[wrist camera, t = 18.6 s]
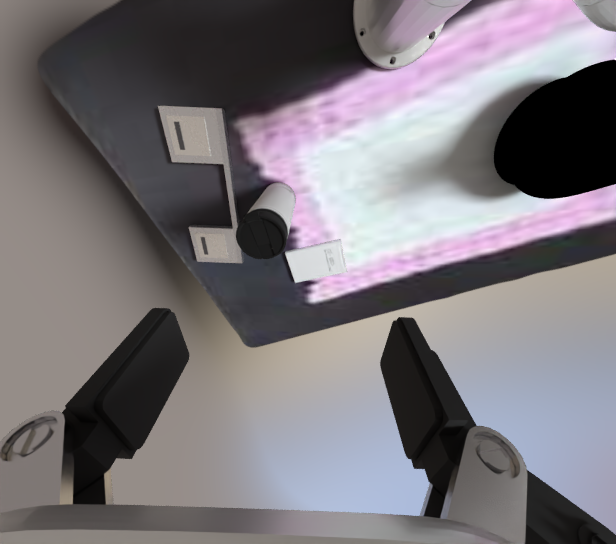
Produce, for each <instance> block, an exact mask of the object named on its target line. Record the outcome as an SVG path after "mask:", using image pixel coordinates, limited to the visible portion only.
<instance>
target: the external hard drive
mask: <svg viewBox="0 0 616 544" xmlns="http://www.w3.org/2000/svg"><path fill="white" fill-rule="evenodd" d="M285 255H286V258H287V261H288V263H289V266H290V269H291V272H292V275H293V278H294V281H295V283H297V282H302V281H307V280H311V279H316V278H321V277H326V276H331V275H335V274H340V273H345V272H347V268H346V263H345V258H344V252H343V247H342V242H341V239H338V240H334V241H329V242H325V243H320V244H316V245H311V246H307V247H303V248H298V249H294V250H289V251H285Z"/></svg>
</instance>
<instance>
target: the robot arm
mask: <svg viewBox="0 0 616 544" xmlns="http://www.w3.org/2000/svg"><path fill="white" fill-rule="evenodd" d="M470 1H471V0H354V6H353V25H354V30H355V36H356V39H357V41H358V44H359V47H360V48H361V50H362V52H363V54H364V55H365V56H366V57H367V58H368V60H369V61H371V62H372V63H373V64H375V65H376V66H379V67H381V68H384V69H398V68H402V67H404V66H407V65H409V64H411V63H412V62H414V61H416V60H417V59H418V58H420V57H421V56H422V55H423V54H424V53H425V52H426V51H427V50H428V49H429V48H430V47H431V46H432V44H433V43H434V42H435V40H436V39H437V37H438V35H439V33H440V31H441V30H442V28H443V26H444V23H445V21H446V20H448V19H449V18H450V17H451V16H453V15H454V14H455V13H456V12H458V11H459V10H460V9H461V8H462V7H464V6H465V5H466V4H467V3H469V2H470ZM572 1H573V2H574V3H575V4H576V5H577V6H578V8H579V9H580V10H581V11H582V13H583V14H584V15H585V16H586V17H587V18H588V19H589V20H590V21H591V22H592V23H594V24H595V25H596V26H598V27H600V28H602V29H605V30H608V31H614V32H616V0H572ZM361 32H363V36H360V33H361ZM429 35H430V36H431V39H429ZM390 60H392V61H393V63H392V64H390ZM188 360H189V352H188V349H187V346H186V343H185V341H184V338H183V335H182V332H181V330H180V327H179V324H178V321H177V319H176V316H175V314H174V313H173V312H171V310H170V309H167V308H153V309H152V310H150V312H149V313H148V314H147V315H146V316H145V317H144V318H143V319H142V320H141V321H140V323H139V324H138V325H137V326H136V327H135V328H134V329H133V331H132V332H131V333H130V334H129V335H128V336H127V337H126V338H125V340H124V341H123V342H122V343H121V344H120V345H119V346H118V347H117V348H116V349H115V351H114V352H113V353H112V354H111V355H110V356H109V358H108V359H107V360H106V361H105V362H104V363H103V364H102V365H101V366H100V367H99V369H98V370H97V371H96V372H95V373H94V374H93V375H92V376H91V377H90V379H89V380H88V381H87V382H86V383H85V384H84V385H83V386H82V388H81V389H80V390H79V391H78V392H77V393H76V394H75V396H74V397H73V398H72V399H71V400H70V401H69V402H68V403H67V404H66V405H65V406H66V409H65V410H64V411H63V412H62V413H61V412H59V411H48V412H44V413H41V414H38V415H35V416H33V417H31V418H29V419H27V420H26V421H24V422H22V423H21V424H19V425H18V426H17V427H15V428H14V429H12V430H11V431H10V432H9V433H8V434H7V435H6V436H5V437H4V438H3V439H2V440H1V441H0V544H616V535H615V534H614V533H613V532H611V531H610V530H609V529H608V528H606V527H605V526H604V525H602V524H601V523H600V522H598V521H597V520H595V519H594V518H593V517H591V516H590V515H589V514H587V513H586V512H584V511H583V510H582V509H580V508H579V507H577V506H576V505H575V504H573V503H572V502H571V501H569V500H568V499H567V498H565V497H564V496H562V495H561V494H560V493H558V492H557V491H555V490H554V489H553V488H551V487H550V486H549V485H547V484H546V483H545V482H543V481H542V480H540V479H539V478H538V477H536V476H535V475H533V474H532V473H531V472H529V471H528V470H527V469H526V465H525V463H524V461H523V458H522V456H521V455H520V453H519V452H518V450H517V449H516V448H515V446H514V445H513V444H512V443H511V442H510V441H509V440H508V439H506V438H505V437H504V436H502V435H501V434H500V433H498V432H497V431H495V430H493V429H491V428H488V427H484V426H476V424H475V422H474V420H473V419H472V417H471V415H470V413H469V411H468V409H467V408H466V406H465V404H464V402H463V401H462V399H461V397H460V395H459V393H458V391H457V390H456V388H455V386H454V384H453V382H452V381H451V379H450V377H449V375H448V373H447V371H446V370H445V368H444V366H443V364H442V362H441V361H440V359H439V357H438V355H437V354H436V353H435V352H434V351H433V350H431V349H430V347H429V346H428V344H427V342H426V340H425V338H424V336H423V334H422V333H421V331H420V329H419V327H418V325H417V323H416V321H415V320H414V319H413V318H404V317H401V318H400V317H399V318H398V319H397V321H393V323H392V326H391V329H390V333H389V336H388V339H387V342H386V345H385V348H384V352H383V355H382V358H381V362H380V366H381V370H382V374H383V377H384V381H385V384H386V388H387V391H388V395H389V398H390V402H391V405H392V409H393V413H394V416H395V420H396V423H397V426H398V430H399V434H400V437H401V441H402V444H403V448H404V451H405V454H406V456H407V458H408V459H411V460H412V463H413V467H414V469H425V471H426V474H427V477H428V480H429V482H430V485H429V488H428V491H427V494H426V497H425V501H424V504H423V507H422V510H421V513H420V516H409V515H392V514H375V513H351V512H326V511H325V512H324V511H300V510H272V509H243V508H211V507H180V506H179V507H178V506H145V505H113V495H112V494H113V493H112V480H111V466H112V464H113V463H114V461H115V459H116V458H125V459H132V458H133V456H134V454H135V452H136V450H137V449H140V448H141V447H142V446H143V444H144V443H145V440H146V439H147V437H148V435H149V433H150V431H151V430H152V428H153V426H154V424H155V422H156V420H157V418H158V416H159V414H160V413H161V411H162V409H163V407H164V405H165V403H166V401H167V400H168V398H169V396H170V394H171V392H172V390H173V388H174V386H175V385H176V383H177V381H178V379H179V377H180V375H181V373H182V372H183V370H184V368H185V366H186V364H187V362H188Z"/></svg>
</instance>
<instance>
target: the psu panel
mask: <svg viewBox="0 0 616 544" xmlns="http://www.w3.org/2000/svg"><path fill="white" fill-rule="evenodd" d="M158 109H159V112H160V116H161V120H162V124H163V128H164V132H165V136H166V140H167V144H168V148H169V152H170V156H171V160H172V162H183V163H207V164H224V171H225V178H226V185H227V191H228V198H229V205H230V212H231V219H232V226H216V225H191V226H189V231H190V234H191V238H192V242H193V246H194V250H195V254H196V258H197V261H198V262H224V263H243V261H244V254H243V251H242V249H241V248H240V247H239V245H238V243H237V240H236V230H237V227H238V226H239V224H240V223H239V216H238V208H237V200H236V192H235V185H234V177H233V169H232V161H231V154H230V146H229V138H228V130H227V122H226V115H225V109H222V108H198V107H174V106H158Z"/></svg>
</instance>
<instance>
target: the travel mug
mask: <svg viewBox="0 0 616 544" xmlns="http://www.w3.org/2000/svg"><path fill="white" fill-rule="evenodd" d="M295 201H296V198H295V194H294V192H293V190H292V189H291V188H290V187H289V186H288V185H286V184H284V183H280V182H277V183H273V184H271V185H269V186H268V187H267V188H266V189H265V191H264V192H263V193H262V195H261V196H260V197H259V199H258V200H257V201H256V202H255V204H254V205H253V206H252V208H251V209H250V210H249V212H248V213H247V214H245V216H244V218H243V220H242V221H241V223H240V224H239V226H238V227H237V230H236V240H237V243H238V245H239V247H240V248H241V249H242V251H243V252H245V253H246V254H247V255H249V256H251V257H253V258H256V259H262V258H263V259H269V258H273V257H275V256H277V255H279V254H281V252H282V251H283V250H284V248H285V245H286V241H287V238H288V234H289V229H290V225H291V220H292V216H293V211H294V207H295Z"/></svg>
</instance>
